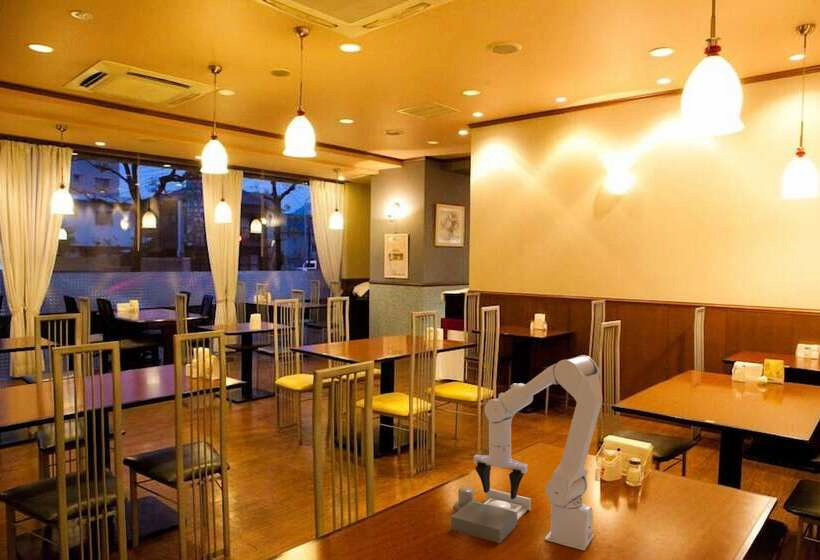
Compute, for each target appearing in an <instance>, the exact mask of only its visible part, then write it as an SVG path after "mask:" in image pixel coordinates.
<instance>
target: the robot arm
mask: <svg viewBox="0 0 820 560" xmlns="http://www.w3.org/2000/svg"><path fill="white" fill-rule="evenodd" d="M600 372H601V369H599V366H597V364H596V362H595V361H594V360H593V358H592V357H590V356H588V355H585V354H582V355H578V356H576V357H572V358H568V359H562V360H559V361H558V362H557V363H553V364H552V365H550V366H548V367H547V368H546V369H544V370H543V371H541V372H540V373H538V375H536V376H535V377H534V378H532V379H531V380H530V381H528V382H527V383H526V384H525V383H522V382H520V383H512V384H511V385H510V386H509V387H510V388H509V389H508V390H507V391H505V392H500V393H498V397H497V398H495V399H489V400H488V401H487V402H486V403H485V405H484V414H485V416H486V418H487V420H488V455H484V454H475V455H474V456H473V464H475V465H476V466H475V471H476V473H477V474H478V477H479V480H480V481H481V484H482V488H483V493H484V494H486V493H487V492H488V491H489V490H490V489H491V480H490V478H491V469H492V468H491V467H494V468H499V469H504V470H508V471H511V472H510V473H508V476H509V482H510V483H509V484H510V494H511V499H515V498H516V496H517V495H518V490H519V487H520V484H521V482H522V479H523V476H525V474H526V473H528V471H529V470H528V469H529V468H528V467H529V466H528V463H523V462H520V461H517V460H515V459H512V423H513V418H514V416H515V415H516V413H517V412H519V411H521V410H522V409H523V408H525V407H527V406H528V405H530V404H532V402H533V400H534V395H536V394H538V393H540V392H541V391H543V390H544V389H546V388H548V387H549V386H552V385H560V386H561V387H562V388H563V389H564V390H565V391H566V392H567V393H569V395H570V396H572V397H573V398H574V400H575V401H576V405H575V408H574V413H573V415H572V419H571V424H570V426H569V430H568V435H567V438H566V442H565V445H564V449H563V453H562V456H561V461H560V463H559V464H558V466H556V468H555V469H554V471H553V474H552V477H551V478H550V479H549V480H548V481H547V482H546V485H545V494H546V496H547V498H548V500H549V501H550V531H549V532H548V534H547V535H546V536H545V537H544V540H545V541H547V542H550V543H554V544H558V545H562V546H566V547H569V548H573V549H577V550H581V551H586V549H587V547H588V546H589V544H590V543H591V541H592V540H593V538H594V535H593V531H594V525H593V523H594V522H593V521H594V520H593V519H594V514H593V512H594V511H593V508H592V507H591V506H589V505H586V504H585V503H583V495H584V494H585V493H586V492H587V490H588V481H587V475H588V470H587V468H586V467H585V464H586V460H587V457H588V456H589V455H588V454H589V450H590V446H591V443H592V439H593V437H594V433H595V429H596V425H597V422H598V419H599V415H600V411H601V408H602V404H603V393H602V389H601V388H602V387H601V382H600V378H599V377H600Z"/></svg>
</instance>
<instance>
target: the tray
mask: <svg viewBox="0 0 820 560" xmlns="http://www.w3.org/2000/svg"><path fill="white" fill-rule="evenodd" d="M485 496H486V499H485V501H484V503H482V504H486V505H489V503H490V502H492V501H496V500H500V501H505V502H508V503H509V504H510V505H511V510H510V511H514V512H517V521H518V520H519V519H520V518H522V517H523V515H524V514H525V513H526V512H527V510H529V511H528V512H530V511H531V510H532V507H531V506H532V504H531V502H532V498H530V497H526V496H521V495H518V494H517V496H516V498H515V499H511V492H505V491H501V490H497V489H492V488H490V490H489V491H488V492H487V493H485Z"/></svg>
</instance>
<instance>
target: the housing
mask: <svg viewBox="0 0 820 560" xmlns="http://www.w3.org/2000/svg"><path fill="white" fill-rule="evenodd" d="M516 525H517V526H518V520H517V512H514V511H510V510H506V509H502V508H498V507H494V506H490V505H486V504H483V503H482V502H478V501H474V500H473V501H470V502H469V503H467V504H466V505H465V506H464V507H462V508H461V509H460V510H457V511H456V512H455V513H454V514H453V515H451V517H450V530H451V531H454V532H458V533H461V532H462V534H465V535H469V536H472V537H476V538H479V539H483V540H486V541H489V542H493V543H496V544H499V545H500V544H501V543H502V542H503V541H504V540H505V539H506V537H508V535H510V533H511V532H512V531H513V530H514V529H515V528H516V527H517V526H516ZM515 526H516V527H515Z"/></svg>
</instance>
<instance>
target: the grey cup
mask: <svg viewBox="0 0 820 560" xmlns="http://www.w3.org/2000/svg"><path fill="white" fill-rule="evenodd" d="M457 491H458V492H457V493H458V494H457V501H455V502H454V508H455V509H456V510H457V511H459V510H460V509H461V508H462V507H464V506H465V505H466V504H467V503H469V502H470V501H474V489H472V488H471V487H468V486H465V487H464V486H463V487H459V488H458V490H457Z"/></svg>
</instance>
